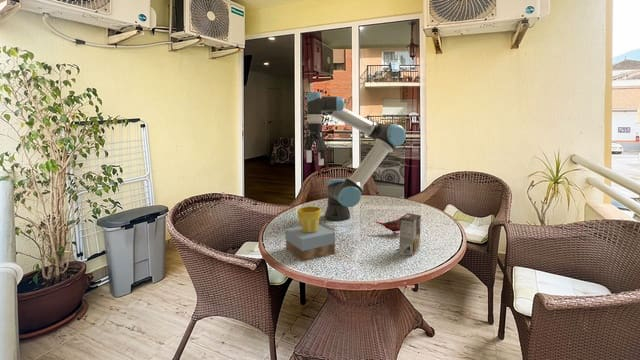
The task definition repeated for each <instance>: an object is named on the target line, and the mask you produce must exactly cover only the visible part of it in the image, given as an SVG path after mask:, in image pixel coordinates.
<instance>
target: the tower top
mask: <svg viewBox="0 0 640 360" xmlns="http://www.w3.org/2000/svg"><path fill="white" fill-rule="evenodd" d="M284 230H285V241H286V240H287V241H288V242H290V243H291V244H293V245H294V246H296V247H297V248H299V249H300V250H302V251H305V250H309V249H313V248H318V247H322V246H327V245H331V244H335V245H336V233H335V232H334V231H332V230H331V229H329V228H327V227H324V226H323V225H320V224H319V225H318V230H317V231H316V232H313V233H306V232H303V230H302V226H301V225H300V226H296V227H290V228H285V229H284Z"/></svg>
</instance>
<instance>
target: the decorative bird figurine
mask: <svg viewBox="0 0 640 360" xmlns="http://www.w3.org/2000/svg"><path fill="white" fill-rule="evenodd" d="M403 216H404V215H403ZM403 216H401V217H403ZM401 217H399V218H398V219H394V220H388V221H386V222H380V221H375V223H376V224H379V225H381V226H383V227H384V228H385V229H387V230H390V231H391V234H392V235H400V218H401Z"/></svg>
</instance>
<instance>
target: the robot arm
mask: <svg viewBox="0 0 640 360" xmlns="http://www.w3.org/2000/svg"><path fill="white" fill-rule="evenodd" d="M306 112H307V113H306V115H307V116H306V122H307V125H306V126H307V128H306V129H307V132H306V138H305V143H304V145H303V146H304V147H303V148H304V150H306V163H312V161H313V158H312V157H313V156H312V155H313V154H312V153H313V151H312V147H313V145H314V143H315V144H316V147H317V149H318V153H317V154H318V166H324V165H325V153H326V152H327V146H326V142H325V139H324V132H320V131H322V129H323V128H322V127H323V125H322V124H323V123H322V122H323V119H322V118H323V115H322V114H323V113H324V114H327V115H328V116H331V117H332V118H334V119H337V120H339V121H340V122H343V123H345V124H346V125H348V126H350V127H353V128H354V129H357V130H358V131H360V132H362V133H364V135H365V136H367V137H368V138H370V139H371V140H373V141H375V144H374V145H373V146H372V148H371V149H370V151H369V152H368V153H367V154H366V156H365V157H364V159H363V160H362V161H361V162H360V164H359V165H358V167H357V168H356V169H355V170H354V172H353V173H352V174H351V175H350V177H346V178H337V179H328V181H327V205H326V209H325V212H324V218H325V219H326V220H327V221H337V222H340V221H341V222H342V221H347V220H349V219H350V218H351V213H350V209H349V208H352V207H355V206H357V205H358V204H359V203H360V202H361V199H362V193H363V191H364V185H365V184H366V183H367V181H368V180H369V179H370V178H371V176H372V175H373V173H374V172H375V171H376V169H377V168H378V167H379V165H380V164H381V163H382V161H383V160H384V159H385V158H386V156H387V155H388V153H392V152H394V151H395V149H396V147H399V146H401V145H403V144H404V142H406V141H405V140H406V130H405V128H404V127H403V126H402V125H400V124H396V123H392V124H391V123H387V124H386V123H380V122H376V121H375V120H369V119H367V118H365V117H363V116H361V115H359V114H358V113H355V112H354V111H352V110H350V109H348V108H346V107H345V100H344V97H343V96H337V95H336V96H333V95H331V96H323V94H322V92H321V91H309V92H308V93H307V94H306Z"/></svg>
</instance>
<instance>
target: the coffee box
mask: <svg viewBox="0 0 640 360" xmlns="http://www.w3.org/2000/svg"><path fill="white" fill-rule="evenodd" d="M421 217H422V216H421V215H420V214H415V213H409V212H407V213H405V214H404V215H403V217H402V216H400V217H399V218H400V231H399V233H400V234H399V244H398V245H399V247H398V249H399V250H398V253H399V254H400V253H402V254H401V255H405V254H407V255H406V256H409V255H413V256H415V255H416V254H417V253H418V252H419V251H418V250H419V249H420V248H421V243H420V242H421V222H422V221H421V220H422V219H421ZM417 251H418V252H417ZM416 252H417V253H416Z"/></svg>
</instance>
